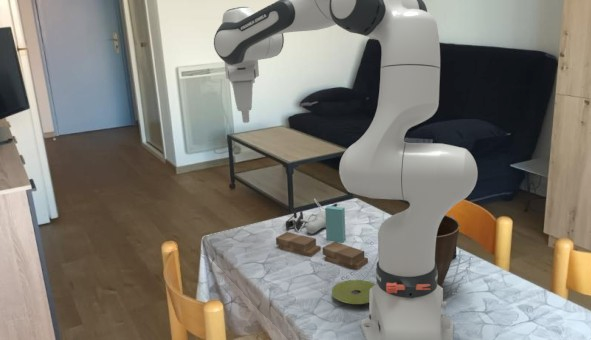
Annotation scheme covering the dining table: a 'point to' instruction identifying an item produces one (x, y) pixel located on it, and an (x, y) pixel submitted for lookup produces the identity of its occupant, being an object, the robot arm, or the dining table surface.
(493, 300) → the dining table surface
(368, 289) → the green disc
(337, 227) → the teal tile
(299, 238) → the walnut tile
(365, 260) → the walnut tile
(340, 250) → the walnut tile
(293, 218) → the clip-on lamp
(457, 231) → the plant pot
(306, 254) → the walnut tile
